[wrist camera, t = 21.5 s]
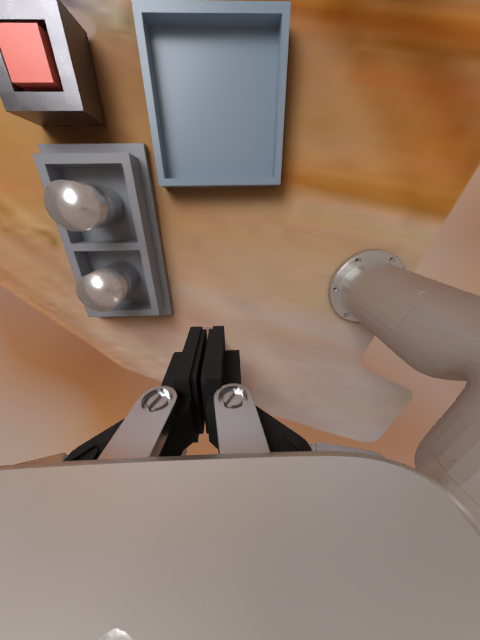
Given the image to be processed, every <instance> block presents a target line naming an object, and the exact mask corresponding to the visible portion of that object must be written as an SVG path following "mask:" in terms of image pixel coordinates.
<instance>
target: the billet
mask: <svg viewBox="0 0 480 640" xmlns="http://www.w3.org/2000/svg"><path fill="white" fill-rule="evenodd" d="M44 203H45V207H46V209H47V211H48V213H49V215H50V216H51V218H52V219H53V220H54V221H55V222H56V223H57V224H58V225H60V226H61V227H63V228H65V229H67V230H70V231H75V232H78V231H84V230H90V229H95V228H101V227H106V226H112V225H116V224H118V223H120V222H121V221H122V219H123V217H124V214H125V207H124V203H123V201H122V199H121V197H120V196H119V194H118V193H117V192H116V191H115V190H113V189H112V188H110V187H108V186H104V185H97V184H90V183H83V182H76V181H69V180H55V181H52V182H51V183H49V184H48V186H47V187H46V189H45V192H44Z"/></svg>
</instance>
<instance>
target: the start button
mask: <svg viewBox="0 0 480 640" xmlns="http://www.w3.org/2000/svg"><path fill="white" fill-rule="evenodd" d="M0 48H1V51H2V54H3V57H4V60H5V63H6V66H7V69H8V72H9V74H10V77H11V80H12V83H14V84H16V85H18V86H19V87H21V88H23V89H25V90H26V91H28V92H64V90H63V86H62V82H61V79H60V75H59V71H58V67H57V64H56V60H55V56H54V52H53V49H52V45H51V41H50V38H49V34H48V33H47V32H46V31H45V30H44V29H43V28H42V27H41V26H40V25H38V24H37V23H0Z"/></svg>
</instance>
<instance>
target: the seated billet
mask: <svg viewBox="0 0 480 640" xmlns="http://www.w3.org/2000/svg"><path fill="white" fill-rule="evenodd" d="M139 283H140V276H139V273H138V271H137V269H136V268H135V267H134V266H133V265H131V264H130V263H128V262H125V261H115V262H113V263H111V264H109V265H107V266H105V267H102V268H100V269H98V270H96V271H94V272H92V273H90V274H88V275H85V276H83V277H82V278H81V279H80V280H79V281H78V283H77V286H76V292H77V295H78V297H79V299H80V300H81V302H82V303H83V304H84V305H85V306H87V307H88V308H90V309H92V310H94V311H98V312H106V311H109V310H111V309H113V308H114V307H115V306H116V305H117V304H119V303H120V302H121V301H122V300H123V299H124V298H126V297H127V296H128V295H129V294H130V293H131V292H133V291H134V290H135V289H136V288H137V287H138V285H139Z"/></svg>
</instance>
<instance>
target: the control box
mask: <svg viewBox="0 0 480 640" xmlns="http://www.w3.org/2000/svg"><path fill="white" fill-rule="evenodd" d="M0 23H37V24H38V25H40V26H41V27H42V28H43V29H44V30H45V31H46V32H47V33H48V34H49V38H50V41H51V45H52V49H53V52H54V56H55V60H56V64H57V67H58V71H59V75H60V79H61V82H62V86H63V90H64V92H28V91H26V90H25V89H23V88H21V87H19V86H18V85H16V84H14V83H12V80H11V77H10V74H9V72H8V69H7V66H6V63H5V60H4V57H3V54H2V51H1V48H0V96H1V99H2V102H3V104H4V107H5V110H6V111H7V112H10V113H12V114H14V115H17V116H19V117H21V118H24V119H26V120H28V121H31V122H33V123H35V124H38V125H40V126H107V125H106V121H105V116H104V111H103V107H102V102H101V97H100V93H99V88H98V83H97V79H96V74H95V70H94V65H93V60H92V56H91V51H90V46H89V42H88V37H87V33H86V31H85V30H84V29H83V28H82V27H81V25H80V24H79V23H78V22H77V21H76V19H75V18H74V17H73V16H72V15H71V14H70V12H69V11H68V10H67V9H66V7H65V6H64V5H63V4H62V2H61V1H60V0H0Z"/></svg>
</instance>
